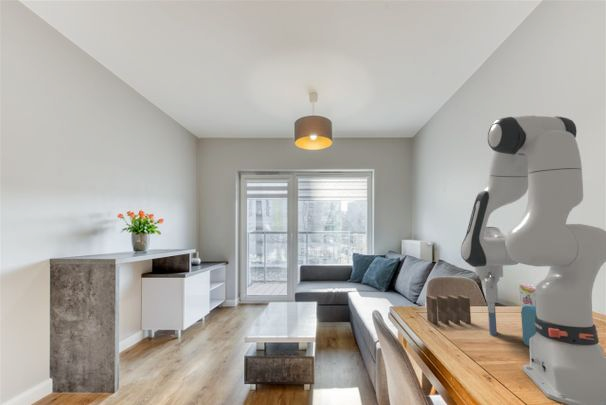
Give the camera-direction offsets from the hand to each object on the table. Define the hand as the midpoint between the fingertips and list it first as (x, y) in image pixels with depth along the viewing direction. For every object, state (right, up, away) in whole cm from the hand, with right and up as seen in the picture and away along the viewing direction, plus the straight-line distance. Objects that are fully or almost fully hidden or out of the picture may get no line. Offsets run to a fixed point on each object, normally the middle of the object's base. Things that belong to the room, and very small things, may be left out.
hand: (490, 308), depth 110 cm
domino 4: (-3, -10, +12) cm, 16 cm away
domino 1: (-16, -10, +12) cm, 22 cm away
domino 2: (-12, -10, +12) cm, 19 cm away
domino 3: (-7, -10, +12) cm, 17 cm away
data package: (+9, -7, -15) cm, 19 cm away
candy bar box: (+15, -8, -3) cm, 17 cm away
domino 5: (0, -8, -1) cm, 8 cm away
